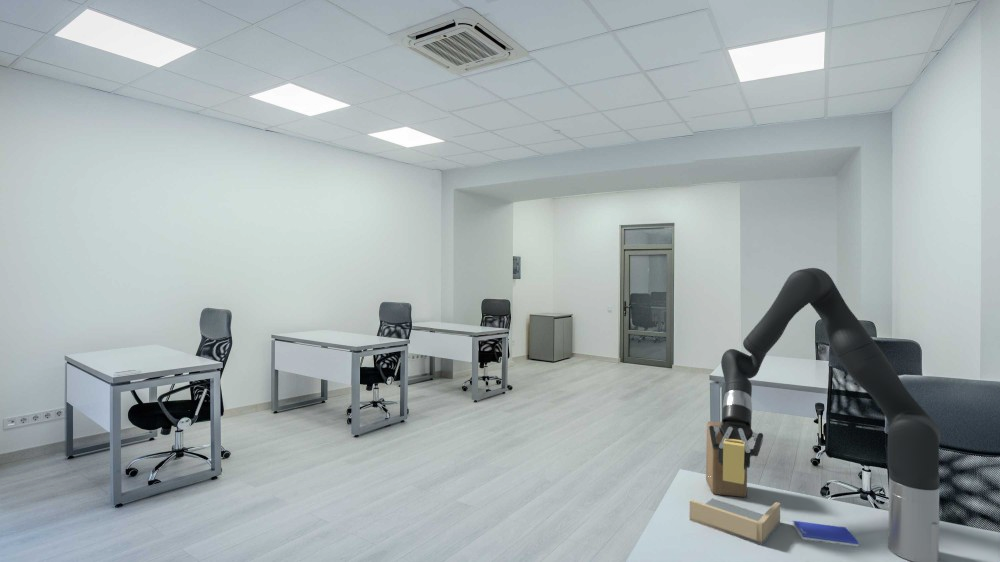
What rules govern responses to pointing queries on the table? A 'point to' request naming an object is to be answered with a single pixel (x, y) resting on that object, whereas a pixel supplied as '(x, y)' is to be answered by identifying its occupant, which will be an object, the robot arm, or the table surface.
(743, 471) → the mustard block
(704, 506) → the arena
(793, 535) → the table surface
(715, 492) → the wooden block
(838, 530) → the hard drive
